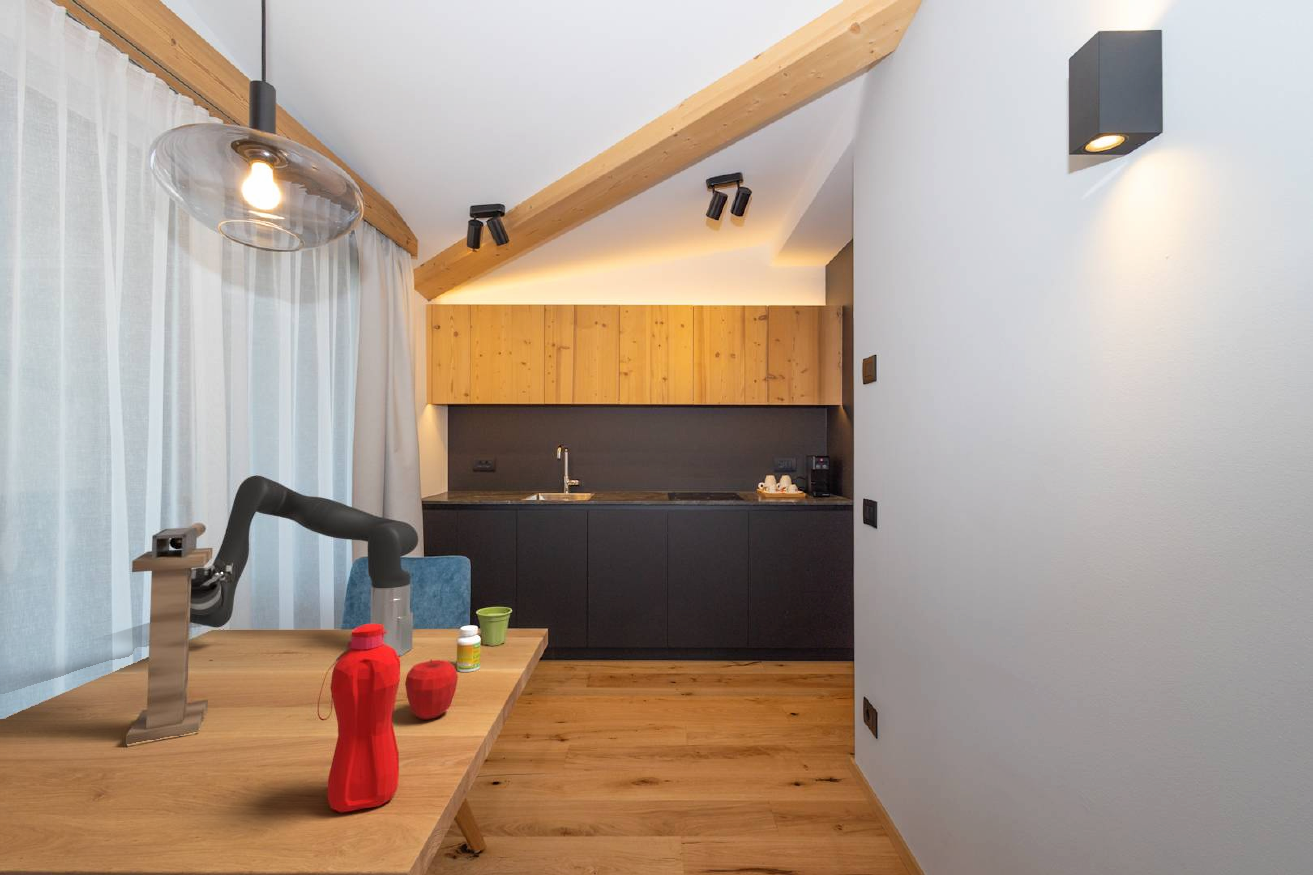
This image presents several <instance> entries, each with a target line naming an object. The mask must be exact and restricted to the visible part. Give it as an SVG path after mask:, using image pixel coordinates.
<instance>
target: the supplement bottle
mask: <svg viewBox="0 0 1313 875" xmlns="http://www.w3.org/2000/svg"><path fill="white" fill-rule="evenodd" d="M459 630H460V636H459V637H458V638H457V640H456V671H458V672H460V673H471V672H475V671H478V670H479V669H480V668H481V657H482V656H481V651H482V650H481V644H482V637H481V636H480V635H478V633H479V627H478V626H477V625H463V626H461V627H460V628H459Z"/></svg>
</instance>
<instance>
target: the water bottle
mask: <svg viewBox="0 0 1313 875" xmlns="http://www.w3.org/2000/svg"><path fill="white" fill-rule="evenodd" d="M384 633H387V631H384V629H383V625H380V624H371V623H365V624H362V625H359V626H358V627H355V628H353V629H352V631H351V641H347V643H346V645H347V646H346V650H344V652H342V653H341V654H340V655H338V657H336V660H335V661H334V662H333V664H332V665H331V666H330V667H329V668H328V670H327V672H326V673H325V677H324V680H323V683H322V684H321V688H320V692H319V696H318V703H317V715H318V718H319V719H320V720H321V721H327V720H328V719H329V718H330V717H331V714H332V710H333V708H334V712H335V718H336V721H337V735H338V736H337V739H336V743H335V744H336V745H335V749H334V752H333V757H332V761H331V764H330V765H331V766H330V769H329V774H328V778H327V780H328V781H327V792H326V793H327V794H326V795H327V796H326V797H327V799H328V804H329V807H330V809H332V810H334V811H337V812H338V813H341V814H343V813H348V812H352V811H358V810H363V809H370V808H374V807H375V808H376V807H381V806H382V805H384V804H385V803H387V802H389V801H390V800H392V798H393V797H394V796H395V794H396V793H397V790H398V788H399V778H400V777H399V776H400V758H399V757H400V756H399V755H400V754H399V748H398V744H397V740H396V735H395V729H394V725H393V715H394V710H395V704H396V700H397V699H396V698H397V694H398V689H399V685H400V681H401V660H400V656H398V654H397V653H396V651H395V649H394V648H392V647H390V646H388V645H385V644H383V634H384ZM333 666H334V667H333ZM331 668H333V670H332V673H331V680H330V692H331V695H330V696H331V703H330V705H331V708H330V713H329V715H328V717H326V718H322V717H321V716H320V710H319V709H320V708H319V706H320V699H321V695H322V690H323V687H324V683H325V680H326V677H327V675H328V673H329V671H330V670H331Z"/></svg>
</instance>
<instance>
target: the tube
mask: <svg viewBox="0 0 1313 875" xmlns="http://www.w3.org/2000/svg"><path fill="white" fill-rule="evenodd" d="M196 527H197V539H198V538H199V537H200V536H202V535H203V534H205V532H206V530H207V527H206V526H205V524H203V523H201V522H195V523H194V524H191V525H190V526H188V528H196ZM169 547H171V548H172V549H173V550H182V538H170V543H169Z"/></svg>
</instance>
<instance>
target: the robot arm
mask: <svg viewBox="0 0 1313 875" xmlns="http://www.w3.org/2000/svg"><path fill="white" fill-rule="evenodd" d="M256 513H259V514H263V515H269V516H273V517H279V518H283V519H288V520H291V521H293V522H295V523H297V524H298V525H299V526H301V527H304V528H306V529H307V530H309V531H311V532H314V533H317V534H320V535H322V536H326V537H328V538H329V537H330V538H335V539H341V540H351V541H352V540H353V541H362V542H367V571H368V572H367V573H368V577H369V578H370V582H371V588H370V589H371V591H370V594H371V596H370V624H380V625H383V629H384V631H387V633H384V634H383V644H385V645H388V646H390V647H392V648H394V649H395V651H396V653H397V654H398V656H399V657H400V656H403V655H404V654H406V653H407V652H408V651H411V650H412V649H413V630H414V629H413V628H414V626H413V625H414V624H413V623H414V613H413V611H410V610H411V608H410V607H411V604H410V603H411V574H410V572H409V571H407V570H404V569H403V568H402V559H401V557H404V556H407V555H409V554H410V553H412V552H413V551H414V550H416V547H417V546H418V545H419V544H418V543H419V535H418V532H417V530H416V529H415V528H414V527H413V526H412V525H411V524H409V523H407V522H405V521H400V520H397V519H396V520H395V519H391V518H387V517H386V518H385V517H381V516H377V515H374V514H373V513H372V514H371V513H369V512H366V511H363V510H361V509H358V508H356V507H353V506H350V505H347V504H344V503H342V502H339V501H336V500H332V499H329V498H325V497H320V496H309V495H305V494H301V493H299V492H297V491H295V490H293V489H291V488H288V487H287V486H285V485H284V484H281V483H279V482H277V481H276V480H275V481H274V480H272V479H270V478H268V477H265V476H261V475H251V476H249V477H247V478H246V479H244V480H243V481H242V482H241V484H239V487H238V489H237V491H236V494H235V496H234V499H233V504H232V508H231V511H230V514H229V518H228V521H227V525H226V527H225V533H224V536H223V539H222V542H221V544H220V546H219V550H218V552H217V554H216V557H215V559H214V561H213V563H212V565H210V566H209V567H200V568H191V598H190V623H192V624H195V625H202V626H205V627H211V628H216V629H217V628H222V627H223V626H225V625H227V623H228V622H229V621H230V619H231V617H232V616H233V612H234V611H233V610H234V602H235V594H236V589H237V587H238V583H239V581H240V578H241V577H242V574H243V572H244V570H245V568H246V565H247V563H248V560H249V555H250V529H251V525H252V523H253V522H252V521H253V518H254V517H255V516H256Z"/></svg>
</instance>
